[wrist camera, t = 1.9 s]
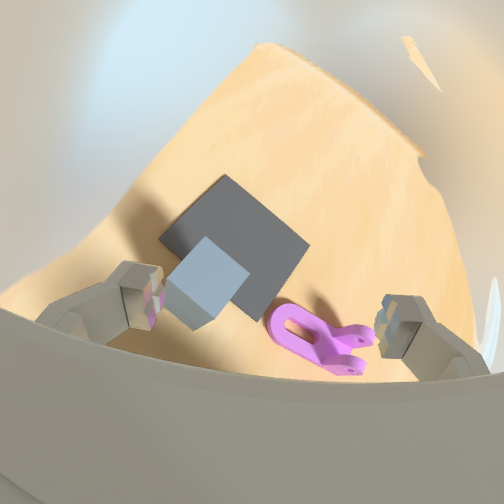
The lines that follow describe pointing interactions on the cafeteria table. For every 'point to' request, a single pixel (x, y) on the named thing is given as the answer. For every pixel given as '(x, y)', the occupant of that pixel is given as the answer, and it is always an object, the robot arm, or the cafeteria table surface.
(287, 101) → the cafeteria table surface
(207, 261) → the slate block
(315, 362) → the bracket
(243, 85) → the cafeteria table surface
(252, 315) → the mat
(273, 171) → the cafeteria table surface
